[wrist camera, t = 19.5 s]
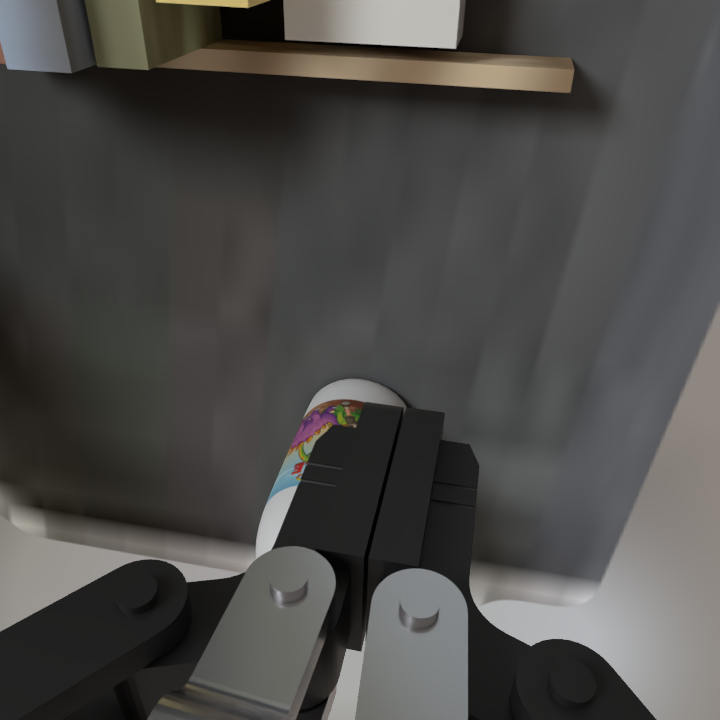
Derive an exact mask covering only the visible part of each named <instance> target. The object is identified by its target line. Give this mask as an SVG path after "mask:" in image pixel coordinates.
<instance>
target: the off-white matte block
mask: <svg viewBox="0 0 720 720" xmlns="http://www.w3.org/2000/svg"><path fill="white" fill-rule="evenodd" d="M283 3H284V27H285V40H298V41H317V42H336V43H355V44H374V45H393V46H412V47H431V48H450V49H456V48H457V46H458V44H459V42H460V40H461V38H462V36H463V25H464V15H465V4H466V0H283Z"/></svg>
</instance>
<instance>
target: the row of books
mask: <svg viewBox="0 0 720 720" xmlns="http://www.w3.org/2000/svg"><path fill="white" fill-rule="evenodd" d="M0 63H4V64H6V65H7V69H14V70H30V71H45V72H60V73H74V72H77V71H80V70H82V69H85V68H88V67H91V66H94V65H97V67H108V68H124V69H140V70H150V69H152V68H155V67H159V68H175V69H191V70H207V71H223V72H239V73H255V74H272V75H288V76H304V77H320V78H336V79H352V80H368V81H384V82H401V83H417V84H433V85H449V86H465V87H481V88H497V89H513V90H529V91H546V92H562V93H570V92H571V86H572V81H573V76H574V70H575V69H574V66H573V63H572V59H571V58H564V57H546V56H527V55H509V54H490V53H471V52H453V51H434V50H416V49H397V48H378V47H360V46H341V45H322V44H304V43H285V42H267V41H248V40H229V39H223V37H222V26H221V15H220V6H208V5H192V4H176V3H159V2H156V0H0Z"/></svg>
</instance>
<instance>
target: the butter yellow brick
mask: <svg viewBox="0 0 720 720" xmlns="http://www.w3.org/2000/svg"><path fill="white" fill-rule="evenodd" d="M267 1H270V0H156V2H159V3H176V4H192V5H208V6H224V7H240V8H250V7H253V6H255V5H258V4H261V3H264V2H267Z"/></svg>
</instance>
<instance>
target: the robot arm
mask: <svg viewBox="0 0 720 720" xmlns="http://www.w3.org/2000/svg"><path fill="white" fill-rule="evenodd" d="M444 416H445V413H443V412H436V411H429V410H421V409H414V408H406V409H405V413H404V408H403V407H399V406H392V405H385V404H378V403H371V402H365V403H364V405H363V408H362V411H361V414H360V417H359V420H358V423H357V426H356V428H354V427H348V426H341V425H333V426H332V427H330V428H329V429H328V430H327V431H326V432H325V433H324V434H323V435H322V436H321V437H319V438H318V439H317V440H316V442H315V444H314V447H313V449H312V452H311V454H310V457H309V459H308V463H307V465H306V466H305V469H304V471H303V474H302V476H301V481H300V482H299V484H298V486H297V489H296V491H295V494H294V496H293V499H292V501H291V504H290V506H289V509H288V511H287V514H286V516H285V519H284V521H283V524H282V526H281V529H280V531H279V534H278V536H277V539H276V541H275V543H274V545H273V547H272V549H271V551H268V552H266V553H265V554H263V555H261V556H260V557H259V558H257V559H256V560H255V561H254V562H253V563H252V564H251V565H250V566H249V568H248V570H247V571H246V572H244V573H242V574H240V575H237V576H233V577H230V578H224V579H217V580H207V581H197V582H187V583H186V580H185V578H184V576H183V574H182V573H181V572H180V571H179V570H178V569H177V568H176V567H175V566H173V565H172V564H169V563H167V562H164V561H160V560H140V561H135V562H132V563H128V564H126V565H123V566H121V567H119V568H117V569H115V570H114V571H112V572H110V573H108V574H107V575H104V576H102V577H101V578H99V579H97V580H95V581H93V582H91V583H90V584H88V585H86V586H84V587H82V588H80V589H78V590H77V591H75V592H73V593H71V594H69V595H68V596H65V597H64V598H62V599H60V600H58V601H56V602H54V603H53V604H51V605H49V606H47V607H45V608H43V609H42V610H40V611H38V612H36V613H34V614H32V615H30V616H29V617H27V618H25V619H23V620H21V621H20V622H17V623H16V624H14V625H12V626H10V627H9V628H6V629H5V630H3V631H1V632H0V720H327V719H328V716H329V713H330V710H331V707H332V704H333V701H334V698H335V694H336V684H337V682H338V679H339V676H340V672H341V668H342V663H343V659H344V656H345V652H346V649H352V650H357V651H361V650H362V645H363V641H364V637H365V632H366V644H365V651H364V658H363V666H362V673H361V680H360V688H359V695H358V702H357V710H356V716H355V720H656V719H655V718H654V716H653V715H652V714H651V713H650V712H649V710H648V709H647V708H646V707H645V706H644V705H643V703H642V702H641V701H640V700H639V699H638V697H637V696H636V695H635V694H634V693H633V692H632V690H631V689H630V688H629V687H628V686H627V684H626V683H625V682H624V681H623V680H622V679H621V677H620V676H619V675H618V674H617V673H616V672H615V670H614V669H613V668H612V667H611V666H610V665H609V663H607V661H605V660H604V658H602V657H601V656H600V655H599V654H597V653H596V652H595V651H593V650H591V649H590V648H588V647H586V646H584V645H582V644H579V643H576V642H573V641H570V640H563V639H550V640H545V641H541V642H539V643H536V644H535V645H533V646H529V645H527V644H526V643H524V642H522V641H520V640H518V639H516V638H514V637H512V636H510V635H508V634H506V633H504V632H503V631H501V630H499V629H498V628H496V627H495V626H494V625H492V624H491V623H490V622H489V621H488V620H487V619H486V618H485V617H484V616H483V615H482V614H481V612H480V611H479V610H478V608H477V607H476V605H475V603H474V601H473V599H472V596H471V593H470V587H469V575H470V564H471V552H472V541H473V530H474V519H475V507H476V496H477V485H478V474H479V464H478V462H477V460H476V458H475V455H474V453H473V451H472V449H471V447H470V445H469V444H463V443H457V442H450V441H443V440H442V434H443V426H444Z"/></svg>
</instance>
